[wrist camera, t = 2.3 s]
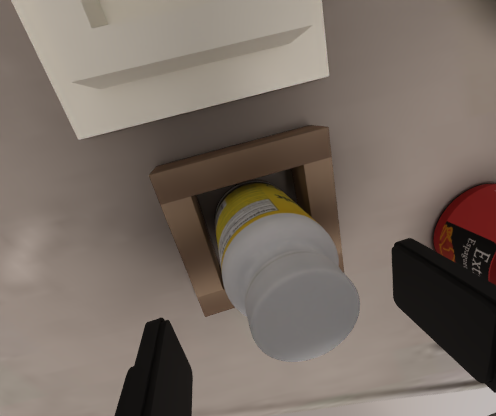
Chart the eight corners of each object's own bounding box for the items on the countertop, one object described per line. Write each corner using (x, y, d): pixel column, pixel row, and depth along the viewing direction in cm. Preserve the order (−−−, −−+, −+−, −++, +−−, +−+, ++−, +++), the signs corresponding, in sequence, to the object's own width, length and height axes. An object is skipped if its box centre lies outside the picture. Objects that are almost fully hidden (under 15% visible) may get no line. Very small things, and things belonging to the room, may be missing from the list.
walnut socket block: (156, 166, 15) (148, 175, 13) (310, 125, 16) (328, 126, 14) (204, 292, 19) (205, 317, 17) (327, 254, 20) (344, 272, 18)
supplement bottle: (301, 226, 19) (395, 332, 10) (237, 262, 19) (272, 399, 10) (269, 163, 17) (352, 221, 8) (198, 203, 17) (195, 309, 8)
